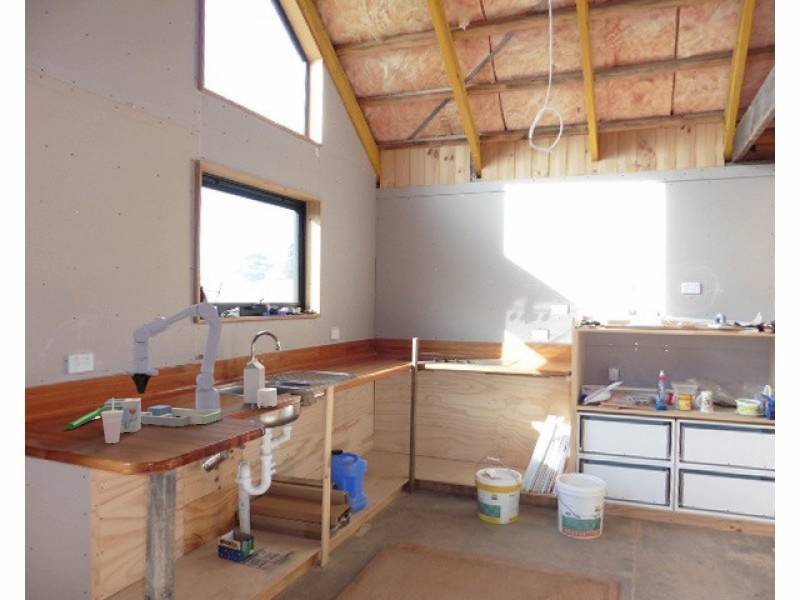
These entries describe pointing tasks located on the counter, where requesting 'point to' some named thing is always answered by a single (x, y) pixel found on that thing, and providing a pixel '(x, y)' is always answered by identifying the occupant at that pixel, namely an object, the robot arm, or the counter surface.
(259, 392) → the toilet paper
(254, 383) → the milk carton
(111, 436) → the smoothie
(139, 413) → the light bulb box
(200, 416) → the trap box
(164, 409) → the block
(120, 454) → the counter surface
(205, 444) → the counter surface
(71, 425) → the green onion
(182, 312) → the robot arm
